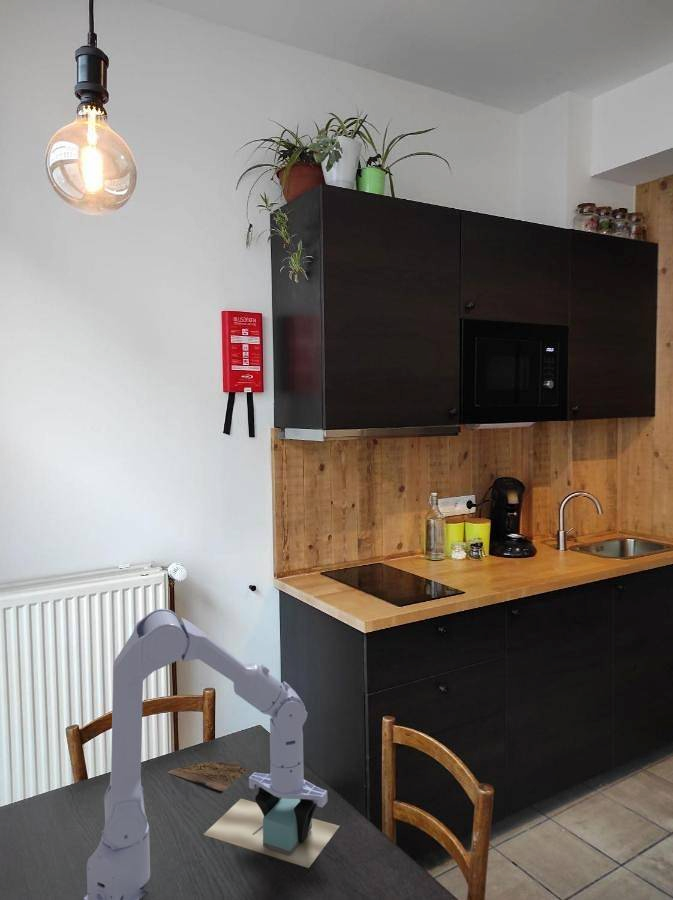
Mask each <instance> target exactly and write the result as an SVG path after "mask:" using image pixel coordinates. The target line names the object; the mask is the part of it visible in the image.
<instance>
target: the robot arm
mask: <svg viewBox="0 0 673 900" xmlns="http://www.w3.org/2000/svg"><path fill="white" fill-rule="evenodd" d="M181 621H182V623H181ZM180 658H181V660H182V662H183V663H186V662H190V661H194V660H199V661H201V662H203V663H204V664H206V665H207V666H209V667H210V668H212V669H213V670H215V671H216V672H218V673H219V674H221V675H222V676H224V677H225V678H227V679H228V680H230V681H231V682H233V692H234V693H235V694H236V695H237V696H238V697H240V698H242V699H243V701H245V702H247V703H248V704H250V705H251V706H252V707H254V708H255V709H257V710H258V711H259V712H260V713H262V714H264V715H267V716H270V718H269V729H270V730H269V759H270V760H269V763H270V764H269V767H270V768H269V769H270V770H269V771H270V772H269V773H260V772H253V773H252V774H251V775H250V776H249V777H248V788H249V789H251V790H255V789H256V788H257V789H258V792H257V794H256V795H255V798H254V800H255V803H257V804H258V806H259V807H260V809H261V811H262V813H263V815H264V817H265V816H266V815H267V814H268V813H269V812H270V810H271V809H272V808H273V807H274V806H275V805H276V804H277V803H278V802H279V801H280V799H282V798H288V799H300V802H299V803H298V804H297V805H296V806H295V808H294V812H295V815H296V820H297V826H298V842H299V843H303V842H304V841H305V840H306V838H307V836H308V830H309V826H310V822H311V819H312V818H313V815H314V813H315V810H316V808H317V807H319V808H323V807H324V806H325V805H326V804H327V803H328V790H326V789H323V788H321V787H318V786H316V785H315V784H313V783H312V782H309V781H308V780H306V779H305V778H304V777H305V776H304V732H303V726H304V724H305V722H306V721H307V719H308V711H306V706H305V704H304V702H303V701H302V699H301V698H300V696H299V695H298V693H297V692H296V690H294V689H293V687H292V686H291V685H290V684H288V683H287V682H286V681H282V682H281V681H279V680H278V679H277V678H276V677H275V676H273V675H272V674H270V669H269V668H268V667H267V666H266V665H265V664H261V665H258V664H257V663H255V662H254V663H253V662H252V663H246V664H244V663H242V662H241V661H240V660H239V659H238V658H236V657H235V656H234V655H232V654H231V653H230V652H229V651H228V650H226V649H225V648H224V647H223V646H221V645H220V643H218V642H217V641H215V640H214V639H213V638H212V637H210V636H209V635H208V634H207V633H206V632H205V631H203V630H202V629H200V628H198V627H197V626H196V625H195V624H193V623H191V622H190V621H189V620H188V619H185V618H184V617H181V620H180V618H179V616H178V615H177V614H176V613H175V612H174V611H173V610H170V609H167V608H158V609H155V610H153V611H151V612H150V613H148V614H147V615H145V616H144V617H143V618H141V619H140V620H139V621H138V622H137V623H136V625H135V627H134V630H133V631H132V633H131V635H130V636H129V638H128V639H127V641H126V642H125V644H124V646H122V649H121V650H120V652H119V653H118V655H117V656H116V658H115V659H114V662H113V667H112V705H111V706H112V712H111V713H112V714H111V715H112V716H111V717H112V718H111V719H112V721H111V751H110V752H111V757H110V758H111V759H110V760H111V761H110V763H111V764H110V775H109V777H110V779H109V780H110V781H109V784H108V787H107V789H106V790H105V793H104V795H103V807H104V827H103V829H102V830H101V839H100V841H99V844H98V845H97V848H96V849H95V851H93V853H92V854H91V855H90V856H89V858H88V859H87V862H86V887H87V888H86V890H87V894H86V895H85V896H84V897H83V900H141V899H142V898H143V897H144V896H145V895H147V893H148V891H147V890H145V889H142V888H143V887H144V886H145V885H146V884H147V883H148V882H149V880H150V878H151V856H150V853H151V852H150V825H149V822H148V817H147V815H146V809H145V802H144V801H145V800H144V797H145V796H144V794H145V793H144V788H143V786H142V745H143V744H142V741H143V740H142V739H143V737H142V735H143V700H144V699H143V698H144V697H143V694H144V693H143V691H144V680H146V679H147V678H148V677H150V675H152V674H153V673H154V672H155V671H157V670H160V669H162V668H164V667H167V666H169V665H172V664H173V663H175V662H176V661H178V660H179V659H180Z"/></svg>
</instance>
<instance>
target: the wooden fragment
mask: <svg viewBox="0 0 673 900" xmlns="http://www.w3.org/2000/svg"><path fill="white" fill-rule="evenodd" d="M248 770H249V768H246V767H244V766H240V765H239V764H238V763H237V762H232V761H225V762H213V761H208V762H199V763H196V764H193V765H188V766H186V767H180V768H174V769H170V770H169V771H167V772H166V773H168V774H170V775H173V776H177V777H180V778H183V779H185V780H188V781H191V782H194V783H199V784H201V785H204V786H207V787H209V788H211V789H215V790H218V791H220V792H222V793H224V792H225V791H226V790H227V789H229V788H230V786H232V784H233V783H235V782H236V781H237V780H238V779H239V778H241V777H242V776H243V775H244V774H245V773H246V772H247V771H248Z"/></svg>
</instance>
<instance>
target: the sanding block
mask: <svg viewBox="0 0 673 900" xmlns="http://www.w3.org/2000/svg"><path fill="white" fill-rule="evenodd" d="M299 802H300V799H288V798H280V799H279V802H278V803H277V804H276V805H275V806H274V807H273V808H272V809H271V810H270V812H269V813H268V814H267V815H266V816H265V817H264V818H263V847H266V848H269V849H272V850H275V851H278V852H281V853H283V854H286V855H289V856H290V855H291V854H292V852H293V851H294V850H295V849H296V847H297V846H298V845H299V844H300V843H299V842H298V826H297V820H296V815H295V812H294V808H295V806H296V805H297V804H298V803H299ZM311 828H312V819H311V822H310V826H309V830H308V832H309V831H310V830H311Z"/></svg>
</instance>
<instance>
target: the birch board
mask: <svg viewBox="0 0 673 900" xmlns="http://www.w3.org/2000/svg"><path fill="white" fill-rule="evenodd" d="M263 818H264V815H263V813H262V811H261V809H260V807H259V806H258V804H257V803H256V802H254V801H253V800H247V799H244V798H240V799H239V800H237V802H236V803H234V805H232V806H231V808H229V809H228V810H227V811H226V812H225V813H224V814H223V815H222V816H221V817H220V818H219V819H218V820H217V821H216V822H215V823H214V824H213V825H212V826H210V828H208V829H207V830H206V831H205V832H204V833H203V834H202V835H203V836H206V837H209V838H212V839H214V840H215V839H216V840H218V841H220V842H221V841H222V842H224V843H227V844H231V845H234V846H237V847H241V848H243V849H247V850H250V851H252V852H257V853H259V854H263V855H266V856H269V857H272V858H276V859H279V860H282V861H284V862H288V863H291V864H294V865H298V866H301V867H305V868H307V869H309V868H310V867H311V865H312V864H313V863H314V862H315V860H316V859H317V857H318V856H319V855H320V854H321V852H322V851H323V849H324V848H325V847H326V845H327V844H328V843H329V841H330V840H331V838H332V837H333V836H334V835H335V833H336V832H337V831H338V830H339V828H340V827H341V826H340V825H337V824H335V823H330V822H327V821H324V820H319V819H316V818H313V817H312V828H311V830H310V831H309V832H308V836H307V838H306V840H305V841H304V842H303V843H300V844H299V845H298V846H297V847H296V849H295V850H294V851H293V852H292V854H291V855H290V856H289V855H286V854H283V853H281V852H278V851H275V850H272V849H269V848H266V847H263Z"/></svg>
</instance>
